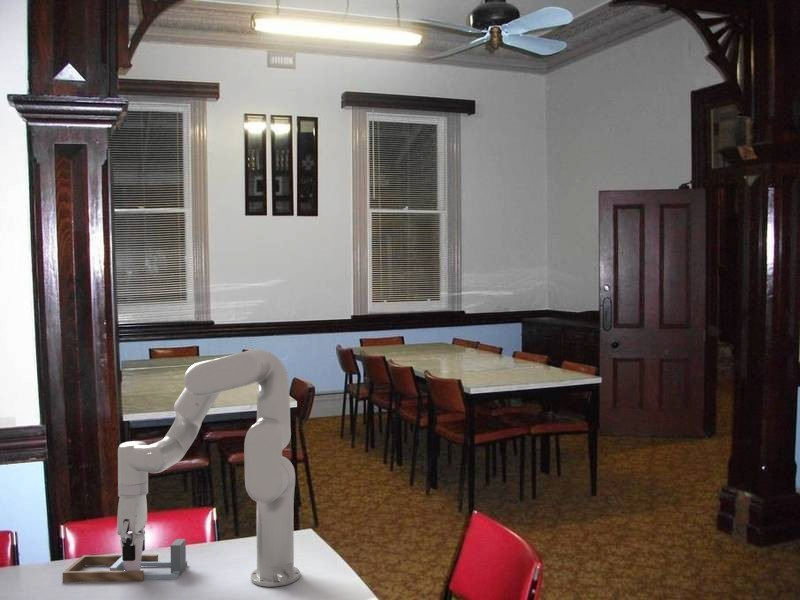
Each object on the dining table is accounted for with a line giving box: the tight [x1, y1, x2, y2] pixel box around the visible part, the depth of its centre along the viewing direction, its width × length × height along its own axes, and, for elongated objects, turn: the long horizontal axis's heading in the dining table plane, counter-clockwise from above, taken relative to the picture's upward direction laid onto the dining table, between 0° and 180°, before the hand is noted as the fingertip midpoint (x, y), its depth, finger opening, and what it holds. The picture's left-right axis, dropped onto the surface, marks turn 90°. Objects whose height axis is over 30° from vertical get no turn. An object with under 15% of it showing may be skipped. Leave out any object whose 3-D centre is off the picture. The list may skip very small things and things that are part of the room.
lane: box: [62, 554, 159, 583], centre depth 193 cm, size 21×12×2 cm, turn 90°
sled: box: [109, 538, 188, 580], centre depth 193 cm, size 18×9×8 cm, turn 90°
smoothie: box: [118, 533, 146, 571], centre depth 193 cm, size 6×6×14 cm
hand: (133, 555), depth 193 cm, fingers closed on smoothie, 6 cm apart
